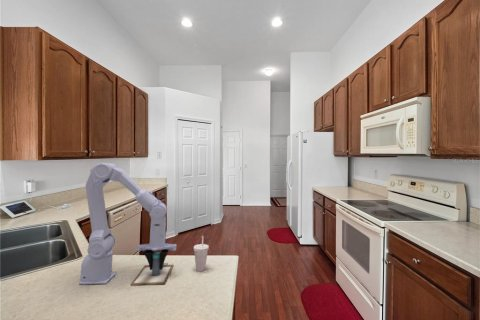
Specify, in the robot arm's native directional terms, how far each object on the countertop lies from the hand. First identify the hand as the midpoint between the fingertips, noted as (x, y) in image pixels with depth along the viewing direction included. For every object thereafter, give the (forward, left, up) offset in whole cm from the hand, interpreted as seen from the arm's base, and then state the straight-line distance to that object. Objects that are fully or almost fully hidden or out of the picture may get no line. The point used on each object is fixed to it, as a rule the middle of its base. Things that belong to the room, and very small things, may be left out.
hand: (156, 268), depth 87 cm
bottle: (0, 0, -2) cm, 2 cm away
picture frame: (-1, +1, -3) cm, 3 cm away
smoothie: (+17, +4, -3) cm, 18 cm away
